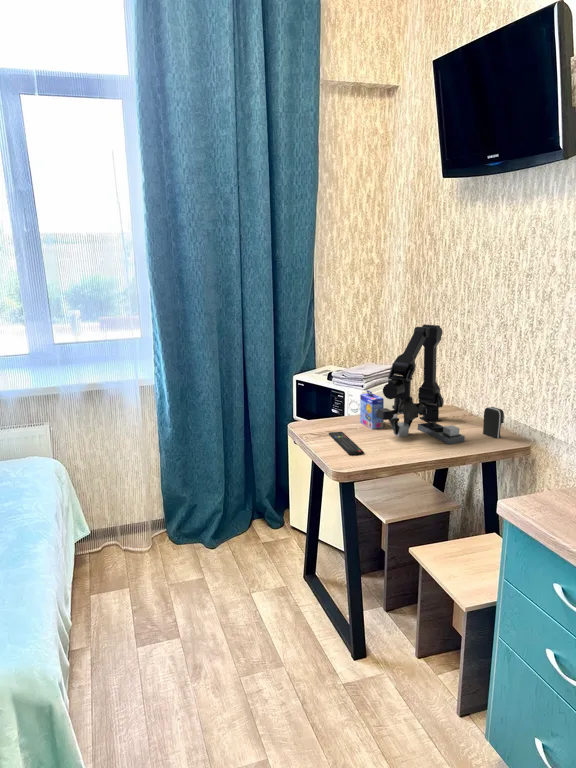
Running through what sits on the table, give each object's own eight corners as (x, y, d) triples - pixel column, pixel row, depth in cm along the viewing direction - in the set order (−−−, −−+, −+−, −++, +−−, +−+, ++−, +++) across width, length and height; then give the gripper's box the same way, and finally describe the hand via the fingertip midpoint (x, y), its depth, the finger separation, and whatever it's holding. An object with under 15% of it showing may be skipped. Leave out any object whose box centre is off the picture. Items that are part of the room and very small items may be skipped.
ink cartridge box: (359, 422, 234) (359, 388, 231) (370, 421, 236) (371, 387, 233) (371, 429, 225) (372, 393, 222) (383, 427, 227) (384, 392, 224)
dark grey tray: (417, 431, 222) (418, 424, 222) (432, 429, 225) (433, 421, 224) (448, 446, 205) (448, 438, 204) (464, 444, 208) (464, 436, 207)
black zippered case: (503, 439, 213) (506, 409, 210) (496, 440, 211) (498, 410, 208) (488, 434, 218) (491, 405, 216) (481, 435, 217) (483, 406, 214)
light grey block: (442, 439, 210) (443, 426, 209) (451, 438, 212) (452, 425, 211) (449, 442, 207) (450, 429, 206) (458, 441, 208) (459, 428, 207)
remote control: (341, 434, 221) (341, 431, 221) (364, 456, 198) (364, 452, 198) (328, 435, 220) (328, 432, 220) (349, 457, 197) (350, 453, 197)
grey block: (393, 435, 217) (393, 423, 216) (402, 434, 219) (403, 422, 218) (399, 439, 214) (399, 426, 213) (408, 437, 215) (408, 425, 214)
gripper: (392, 401, 202) (390, 443, 205) (436, 395, 208) (434, 436, 212) (376, 394, 212) (375, 434, 216) (419, 389, 219) (417, 428, 222)
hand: (400, 433), depth 216 cm, fingers closed on grey block, 4 cm apart
